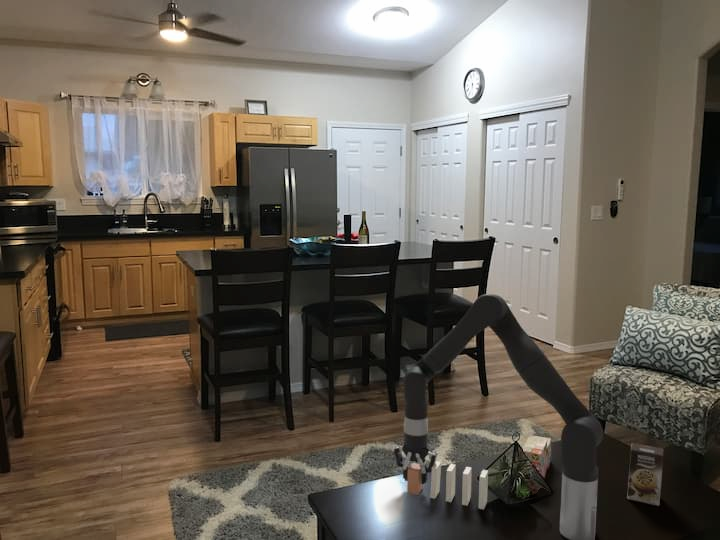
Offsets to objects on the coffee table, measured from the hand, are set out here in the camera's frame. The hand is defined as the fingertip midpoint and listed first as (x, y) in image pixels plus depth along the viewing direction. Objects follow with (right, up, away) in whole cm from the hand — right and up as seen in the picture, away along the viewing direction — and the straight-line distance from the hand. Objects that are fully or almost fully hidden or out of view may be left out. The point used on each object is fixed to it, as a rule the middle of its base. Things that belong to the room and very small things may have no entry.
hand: (415, 481), depth 184 cm
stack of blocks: (+42, -2, +12) cm, 44 cm away
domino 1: (0, -3, 0) cm, 3 cm away
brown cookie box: (+71, -4, -4) cm, 71 cm away
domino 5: (+20, -4, -8) cm, 22 cm away
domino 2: (+6, -3, -2) cm, 7 cm away
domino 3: (+11, -4, -4) cm, 12 cm away
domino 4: (+15, -4, -6) cm, 17 cm away
